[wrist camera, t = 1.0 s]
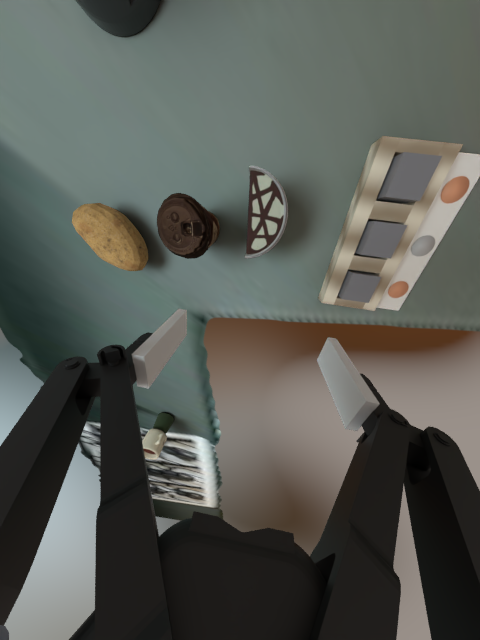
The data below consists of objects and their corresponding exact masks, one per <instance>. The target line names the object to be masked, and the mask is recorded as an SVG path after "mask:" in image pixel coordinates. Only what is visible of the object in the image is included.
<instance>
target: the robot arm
mask: <svg viewBox="0 0 480 640" xmlns="http://www.w3.org/2000/svg"><path fill="white" fill-rule="evenodd" d="M76 2H77V3H78V4H79V5H80V6H81V8H82V9H83V10H84V11H85V13H86V14H87V15H88V16H89V17H90V18H91V19H92V20H93V21H94V22H95V23H96V24H97V25H98V26H99V27H101V28H102V29H103V30H105V31H107V32H109V33H111V34H113V35H117V36H130V35H133V34H136V33H138V32H139V31H141V30H142V29H143V28H144V27H145V26H146V25H147V24H148V23H149V22H150V20H151V19H152V17H153V16H154V14H155V12H156V10H157V8H158V5H159V3H160V0H76ZM186 335H187V310H183V309H178V310H177V311H176V312H175V313H174V314H173V315H172V316H171V317H170V318H169V319H168V320H167V321H166V322H164V323H163V324H162V325H161V326H160V327H159V328H158V329H157V330H156V331H155V332H154V333H146V334H143V335H141V336H140V337H139V338H138V339H137V340H136V341H135V342H133V344H131V345H130V346H129V347H128V348H127V349H126V350H125V348H124V347H123V346H121V345H110V346H107V347H105V348H103V349H101V350H100V351H99V352H98V354H97V356H98V359H99V362H100V363H88V362H87V360H86V358H84V357H73V358H69V359H66V360H64V361H62V362H61V363H59V364H58V365H57V366H56V368H55V369H54V371H53V372H52V374H51V375H50V376H49V378H48V379H47V381H46V382H45V384H44V385H43V386H42V388H41V389H40V391H39V392H38V394H37V395H36V396H35V398H34V399H33V401H32V402H31V404H30V405H29V406H28V408H27V409H26V411H25V412H24V413H23V415H22V416H21V418H20V419H19V421H18V422H17V423H16V425H15V426H14V428H13V429H12V431H11V432H10V433H9V435H8V436H7V438H6V439H5V440H4V442H3V443H2V445H1V446H0V640H9V632H8V630H7V629H6V627H5V626H4V624H5V622H6V620H7V618H8V616H9V614H10V612H11V610H12V608H13V606H14V604H15V602H16V600H17V598H18V596H19V594H20V592H21V589H22V587H23V585H24V583H25V580H26V578H27V575H28V573H29V571H30V568H31V566H32V563H33V561H34V558H35V556H36V553H37V550H38V547H39V545H40V542H41V540H42V537H43V534H44V531H45V529H46V526H47V523H48V521H49V518H50V516H51V513H52V510H53V508H54V505H55V502H56V500H57V497H58V494H59V492H60V489H61V487H62V484H63V481H64V479H65V476H66V473H67V470H68V468H69V465H70V463H71V460H72V458H73V455H74V452H75V450H76V447H77V444H78V442H79V439H80V437H81V434H82V431H83V429H84V426H85V423H86V421H87V418H88V415H89V413H90V410H91V407H92V405H93V402H94V400H95V397H96V396H101V501H100V506H99V508H98V511H97V519H96V577H95V578H96V579H95V582H96V583H95V585H96V586H95V610H94V612H93V613H92V614H91V615H90V616H89V617H88V618H87V620H86V621H85V622H84V623H83V624H82V625H81V626H80V628H79V629H78V630H77V631H76V632H75V633H74V634H73V635H72V637H71V638H70V639H69V640H396V636H397V625H398V615H399V604H400V594H401V584H400V580H399V577H398V576H397V575H396V573H395V572H394V569H393V561H394V553H395V545H396V537H397V529H398V523H399V515H400V507H401V499H402V492H403V484H404V486H405V492H406V498H407V503H408V509H409V515H410V520H411V526H412V532H413V537H414V543H415V549H416V554H417V560H418V565H419V571H420V576H421V582H422V588H423V593H424V599H425V605H426V611H427V616H428V622H429V627H430V633H431V638H432V640H480V491H479V489H478V487H477V485H476V482H475V480H474V478H473V476H472V474H471V472H470V470H469V468H468V466H467V464H466V462H465V460H464V457H463V455H462V453H461V451H460V449H459V447H458V446H457V444H456V443H455V442H454V441H453V440H452V439H451V438H450V437H449V436H448V435H447V434H445V433H444V432H442V431H440V430H439V429H437V428H434V427H428V428H426V429H425V430H424V431H423V430H421V429H418V428H416V427H413V426H411V425H410V424H409V422H408V421H407V420H406V419H405V418H404V417H403V416H402V415H401V414H399V413H398V412H396V411H394V410H391V409H390V408H389V407H388V405H387V404H386V403H385V401H384V400H383V398H382V397H381V396H380V394H379V393H378V392H377V390H376V389H375V387H374V386H373V384H372V383H371V381H370V380H369V379H368V378H367V377H366V376H365V375H363V374H360V373H359V372H358V370H357V369H356V367H355V366H354V364H353V363H352V361H351V360H350V359H349V357H348V355H347V354H346V352H345V351H344V349H343V348H342V346H341V345H340V343H339V342H338V340H337V339H335V338H329V337H328V338H327V341H326V342H325V345H324V347H323V349H322V351H321V353H320V355H319V357H318V359H317V361H318V364H319V366H320V369H321V371H322V373H323V376H324V378H325V381H326V383H327V386H328V388H329V391H330V393H331V395H332V398H333V400H334V403H335V405H336V408H337V410H338V412H339V415H340V417H341V420H342V422H343V425H344V427H345V429H349V430H355V431H357V430H358V429H359V428H360V427H361V426H362V427H363V429H364V431H365V432H364V433H363V434H362V435H361V436H360V438H359V439H358V440H357V442H359V444H358V446H357V449H356V451H355V454H354V456H353V459H352V461H351V464H350V466H349V469H348V471H347V474H346V476H345V479H344V481H343V484H342V486H341V489H340V491H339V494H338V496H337V499H336V501H335V504H334V506H333V509H332V511H331V514H330V516H329V519H328V521H327V524H326V526H325V529H324V531H323V534H322V536H321V539H320V541H319V542H318V544H317V546H316V547H315V549H314V550H313V552H312V554H311V556H309V555H308V554H307V553H306V552H305V551H304V550H303V549H302V548H301V547H300V546H299V545H297V544H296V543H295V542H294V536H293V533H289V532H285V531H280V530H275V529H271V528H266V529H260V530H255V531H250V532H240V531H239V530H237V529H236V528H234V527H232V526H231V525H230V524H228V523H227V522H225V521H224V520H222V519H221V518H219V517H217V516H213V515H208V514H203V513H199V512H193V516H192V518H189V519H185V520H182V521H180V522H178V523H176V524H174V525H173V526H171V527H170V528H169V529H167V530H166V531H165V532H164V533H163V534H162V535H161V536H159V535H158V529H157V524H156V518H155V512H154V507H153V502H152V496H151V490H150V484H149V479H148V473H147V467H146V461H145V455H144V449H143V444H142V438H141V432H140V426H139V420H138V415H137V409H136V403H135V397H134V391H133V386H132V385H133V384H134V383H135V381H137V386H139V387H144V388H149V387H150V386H151V384H152V383H153V382H154V380H155V379H156V377H157V376H158V375H159V373H160V372H161V370H162V369H163V367H164V366H165V365H166V363H167V362H168V360H169V359H170V358H171V356H172V355H173V353H174V352H175V351H176V349H177V348H178V346H179V345H180V343H181V342H182V341H183V339H184V338H185V336H186Z"/></svg>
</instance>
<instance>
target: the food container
mask: <svg viewBox="0 0 480 640" xmlns="http://www.w3.org/2000/svg"><path fill="white" fill-rule="evenodd" d="M249 171H250V189H249V209H248V229H247V249H246V255H245V258H255V257H258V256H261V255H263V254H265V253H267V252H268V251H270V250H271V249H272V248H273V247H274V246H275V245H276V244H277V243H278V241H279V240H280V238H281V237H282V235H283V233H284V230H285V228H286V224H287V219H288V202H287V198H286V194H285V192H284V189H283V187H282V186H281V184H280V182H279V181H278V180H277V179H276V178H275V177H274V176H273V175H272V174H271V173H270V172H268V171H266V170H265V169H263V168H260V167H257V166H251V165H249Z"/></svg>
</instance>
